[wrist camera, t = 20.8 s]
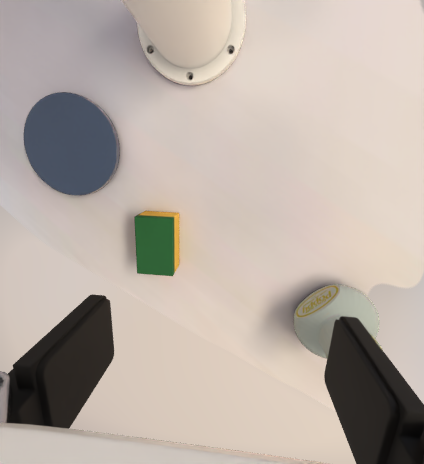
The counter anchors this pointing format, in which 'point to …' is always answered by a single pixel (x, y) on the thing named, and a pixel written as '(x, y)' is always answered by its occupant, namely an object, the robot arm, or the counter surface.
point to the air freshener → (332, 315)
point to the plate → (71, 143)
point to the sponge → (157, 242)
